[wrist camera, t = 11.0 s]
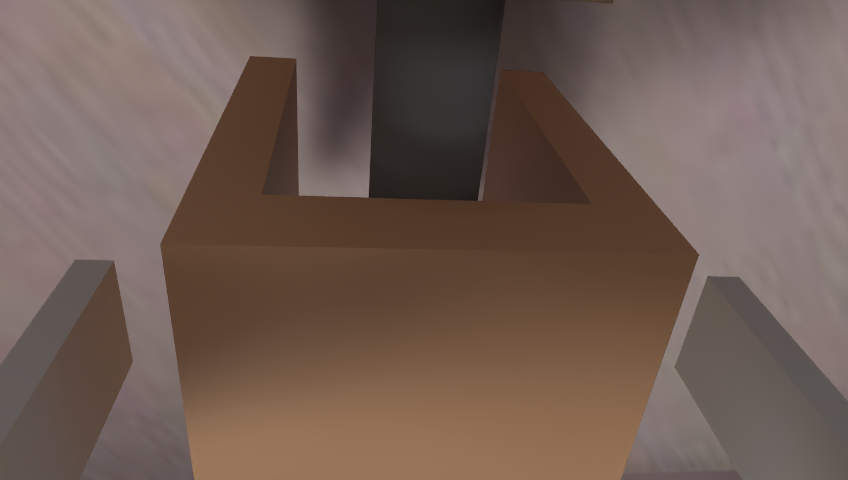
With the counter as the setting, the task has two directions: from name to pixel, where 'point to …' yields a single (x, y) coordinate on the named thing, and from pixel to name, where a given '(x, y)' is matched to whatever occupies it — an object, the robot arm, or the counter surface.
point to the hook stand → (433, 96)
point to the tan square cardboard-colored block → (418, 305)
